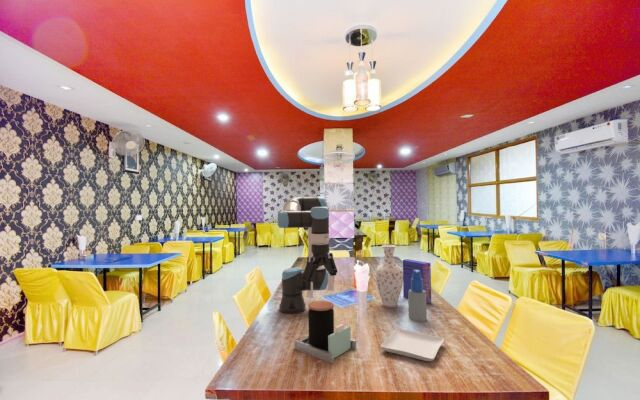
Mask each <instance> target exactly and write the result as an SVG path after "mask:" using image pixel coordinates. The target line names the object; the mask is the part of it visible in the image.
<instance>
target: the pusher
mask: <svg viewBox="0 0 640 400" xmlns="http://www.w3.org/2000/svg"><path fill="white" fill-rule="evenodd" d="M350 339H351V326H350V325H346V326H345V325H344V324H343V323H340V324H338V325H337V326H336V325H335V326H334V333H333V334H331V335H329V336H328V352H331V353H333V354H334V359H335V358H337V357H339V356H340V355H342V354H344V353H346V352H347V351H348V350H350V349H351V341H350Z"/></svg>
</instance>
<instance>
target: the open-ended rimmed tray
mask: <svg viewBox="0 0 640 400" xmlns="http://www.w3.org/2000/svg"><path fill="white" fill-rule="evenodd" d="M350 341H351V348H350V349H351V350H354V351H356V350H357V340H356V339H354V338H350ZM294 350H297V351H299V352H302V353H304V354H306V355H309V356H311V357H314V358H316V359H319V360H321V361H324V362H327V363H329V364H332V365H333V364H334V363H335V358H334V354H333V353H331V352H328V351H325V350H323V349H320V348H317V347H315V346H312V345H309V335H307V336H306V337H304V338H301V339H300V340H298V339H295V340H294Z"/></svg>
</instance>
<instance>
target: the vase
mask: <svg viewBox="0 0 640 400" xmlns="http://www.w3.org/2000/svg"><path fill="white" fill-rule="evenodd" d="M380 247H381V248H382V249H383V253H384V258H383V262H382V264H380V265H378V266H377V268H376V269H375V281H376V288H377V290H378V295H379V297H380V299H381V302H382V306H383V307H386V308H396V307H398V302H399V299H400V295H401V292H402V290H403V268H402V267H401V266H400V265H398V264H396V262H395V259H394V254H395V248H396V247H397V245H394V244H392V245H391V244H384V245H381V246H380Z"/></svg>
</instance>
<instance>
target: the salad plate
mask: <svg viewBox="0 0 640 400" xmlns="http://www.w3.org/2000/svg"><path fill="white" fill-rule="evenodd" d="M444 342H445V338H444V337H439V336H436V335H431V334H428V333H422V332H418V331H414V330H413V331H412V330H409V329H404V328H403V329H402V328H395V329H394V330H393V332H392V333H391V334H390V335H389V336H388V337H387V338H386V339H385V340H383V342H382V343H381V344H380V345H379V346H380V348H381V349H382V350H384V351H386V352H388V353H392V354H397V355H399V356H404V357H409V358H411V359H416V360H420V361H423V362H432V361H434V360H435V358H436V356H437V353H438V352H439V350H440V349H441V347H442V345H443V344H444Z"/></svg>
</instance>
